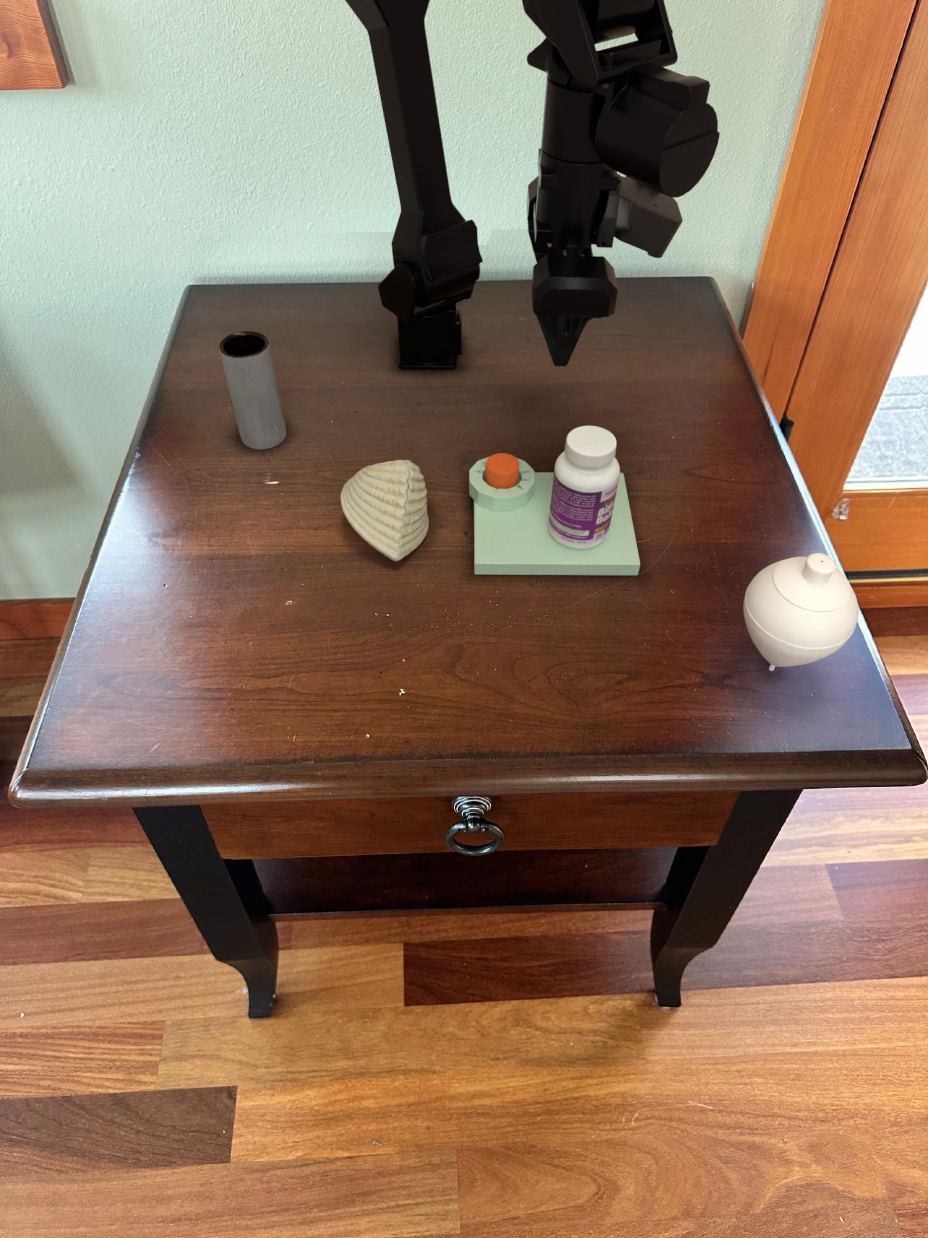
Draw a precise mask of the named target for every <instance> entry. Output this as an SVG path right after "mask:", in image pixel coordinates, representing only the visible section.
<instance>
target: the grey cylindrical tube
mask: <svg viewBox="0 0 928 1238" xmlns="http://www.w3.org/2000/svg"><path fill="white" fill-rule="evenodd" d="M218 351H219V356H220V360H221V363H222V367H223V371H224V377H225V379H226V383H227V388H228V391H229V397H230V401H231V403H232V408H233V413H234V416H235V420H236V424H237V429H238V433H239V437H240V439H241V442H242V444H244V446H246V447H247V448H250V449H253V450H268V449H272V448H275V447H277V446H279V445H280V444H282V443H283V442H284V441H285V439H286V437H287V427H286V422H285V421H286V420H285V417H284V412H283V405H282V401H281V395H280V391H279V386H278V380H277V375H276V370H275V365H274V360H273V354H272V349H271V344H270V340H269V338H268V337H267V336H266V335H265V334H263V333H261V332H258V331H254V330H242V331H235V332H233V333H230V334H228V335H226V336H225V337H224V338H222V339H221V341H220V342H219V345H218Z"/></svg>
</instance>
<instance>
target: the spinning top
mask: <svg viewBox="0 0 928 1238" xmlns="http://www.w3.org/2000/svg"><path fill="white" fill-rule="evenodd" d="M742 611H743V618H744V622H745V625H746V626H745V627H746V629H747V631H748V634H749V637H750V639H751V642H753V644H754V646H755V647H756V649H757V650H758V652H759V653H760V655H761V656H762V657H763V658H764V659H765V661H766V662H768V663H769V667H768V671H770V672H773V671H775V668H776V667H778V668H780V667H781V668H787V667H796V666H801V665H808V664H812V663H814V662H817V661H819V660H821V659H824V658H825V657H828V656H830V655H833V654H834V653H835V652H837V651H838V650H840V649H841V648H842V647H843V646H844V645H845V644H846V643H847V642H848V641H849V639H850V638H851V637H852V635H854V632H855V630H856V627H857V625H858V620H859V603H858V599H857V596H856V593H855V591H854V588H853V587H852V585H851V584H850V583H849V580H848V578H847V577H846V576H845V574H844V573H843V572H842V571H841V570H839V569H838V568H837V563H836V561H835V560H834V559H833V557H831V556H830V555H827V554H825V553H821V552H814V553H811V554H809V555H808V556H793V557H789V558H787V559H786V558H785V559H782V560H778V561H776V562H773V563H770V564H769V565H767V566H766V567H764V568H763V569H761V570H760V571H758V573H757V574H756V575H755V576H754V577H753V579H751V581H750V583H749V584H748V586H747V588H746V590H745V594H744V597H743V607H742Z"/></svg>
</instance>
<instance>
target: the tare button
mask: <svg viewBox="0 0 928 1238" xmlns="http://www.w3.org/2000/svg"><path fill="white" fill-rule="evenodd" d="M488 457H489V458H488V459H487V461H486V472H485V480H486V482H487V484H488V485H490V486H491V487H494V488H497V489H509V488H511V487H514V486H515V485H516V484H517V482H518V479H519V461H518V459H519V458H518V457H516V456H514V455H512V454H509V453H507V452H506V453H504V452H499V453H495V454H492V455H490V456H488ZM517 458H518V459H517Z"/></svg>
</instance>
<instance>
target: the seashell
mask: <svg viewBox="0 0 928 1238" xmlns="http://www.w3.org/2000/svg"><path fill="white" fill-rule="evenodd" d="M424 479H425V476H424V475H423V473H421V469H420V467H419V465H416V464H415V463H414V462H412V460H409V459H404V460H403V459H395V460H388V461H385V462H379V463H374V464H371V465H366V466H365V467H362V468H361V469H359V470H358V472H356V473H355V474H354V475H353V476H352V477H350V478H349V479H348V480H347V481H346V482H345V483H344V485H343V486H342V489H341V491H340V506H341V509H342V512H343V515H344V516H345V518H346V520H347V522H348V523H349V524H350V526H351V527H352V528H353V530H354V531H355V532H356V533H357V534H358V535H359V536H360V537H361V538H362V539H363V540H364V541H365V542H366V543H367V544H368V545H369V546H371V547H372V548H374V549H375V550H376V551H377V552H379V553H380V554H382V555H384V556H385V557H387V558H388V559H390V560H392V561H394V562H398V561H401V560H402V559H404V558H405V557H407V556H408V555H410V553H412V552H413V551H414V550H416V549H417V548H418V547H419V546H420V545H421V544H422V543H423V541H424V539H425V538H426V536H427V534H428V532H429V525H430V519H429V514H428V508H427V507H428V503H427V502H428V499H427V493H428V490H427V488H426V482H425V480H424Z"/></svg>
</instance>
